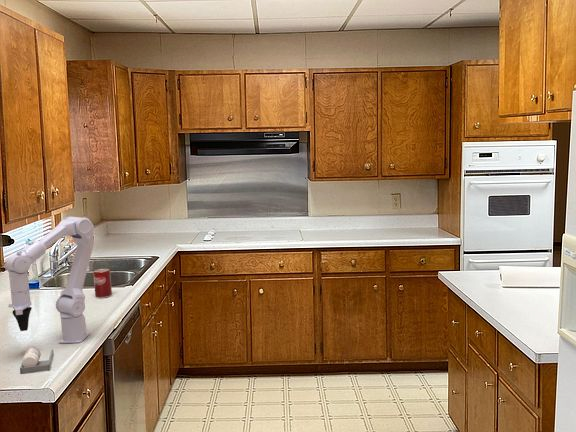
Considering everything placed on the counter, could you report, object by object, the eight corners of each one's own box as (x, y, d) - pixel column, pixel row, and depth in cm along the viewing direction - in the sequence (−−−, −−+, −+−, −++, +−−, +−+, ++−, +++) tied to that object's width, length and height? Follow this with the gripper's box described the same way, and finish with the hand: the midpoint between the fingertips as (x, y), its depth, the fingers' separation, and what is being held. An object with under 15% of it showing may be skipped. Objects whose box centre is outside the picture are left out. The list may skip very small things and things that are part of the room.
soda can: (103, 299, 291) (101, 272, 289) (91, 297, 294) (89, 271, 293) (115, 295, 297) (113, 269, 295) (104, 293, 300) (102, 267, 299)
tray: (26, 357, 218) (25, 352, 217) (53, 354, 220) (53, 349, 220) (20, 373, 203) (19, 368, 203) (49, 370, 205) (49, 364, 205)
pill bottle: (27, 363, 213) (23, 372, 205) (23, 349, 212) (19, 357, 204) (42, 359, 214) (39, 368, 206) (38, 345, 213) (35, 353, 205)
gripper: (10, 287, 224) (14, 325, 226) (3, 297, 210) (8, 338, 212) (32, 284, 226) (36, 323, 228) (27, 294, 212) (31, 335, 214)
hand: (24, 330), depth 220 cm, fingers closed
